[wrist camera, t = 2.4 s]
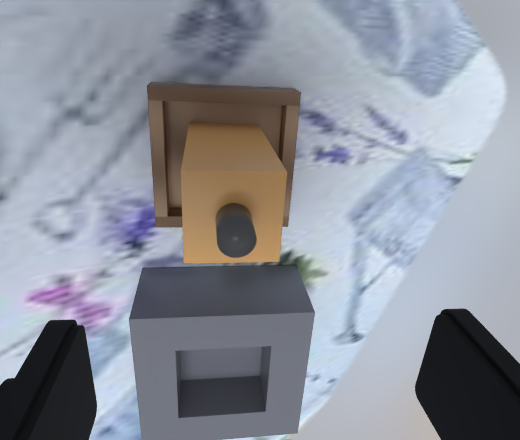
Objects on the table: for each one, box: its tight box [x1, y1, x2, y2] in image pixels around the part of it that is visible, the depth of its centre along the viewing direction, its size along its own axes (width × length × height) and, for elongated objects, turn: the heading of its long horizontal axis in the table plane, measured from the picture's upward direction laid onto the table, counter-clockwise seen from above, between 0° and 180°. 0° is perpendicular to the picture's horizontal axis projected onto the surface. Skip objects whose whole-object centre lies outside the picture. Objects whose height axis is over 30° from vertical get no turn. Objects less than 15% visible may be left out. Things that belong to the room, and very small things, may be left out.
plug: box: [181, 122, 287, 264], centre depth 21 cm, size 4×4×12 cm
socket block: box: [129, 265, 315, 440], centre depth 30 cm, size 12×12×6 cm
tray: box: [147, 82, 301, 227], centre depth 26 cm, size 9×9×2 cm
